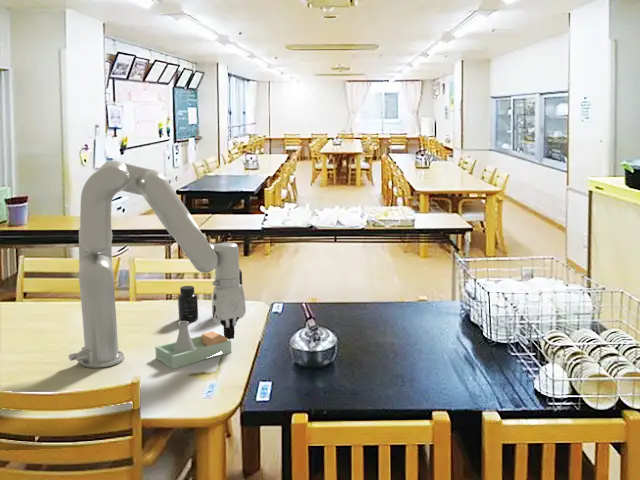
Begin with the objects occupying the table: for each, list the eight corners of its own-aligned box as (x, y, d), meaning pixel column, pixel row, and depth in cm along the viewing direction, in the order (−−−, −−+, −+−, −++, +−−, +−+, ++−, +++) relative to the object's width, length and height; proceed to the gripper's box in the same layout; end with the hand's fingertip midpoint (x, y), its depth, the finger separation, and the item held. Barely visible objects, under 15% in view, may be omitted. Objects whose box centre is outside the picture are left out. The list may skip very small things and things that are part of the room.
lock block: (216, 350, 210) (216, 340, 210) (202, 343, 216) (201, 334, 216) (227, 347, 213) (227, 337, 212) (213, 340, 219) (212, 331, 218)
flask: (199, 350, 211) (198, 319, 209) (193, 358, 204) (191, 326, 202) (176, 349, 212) (175, 318, 210) (169, 357, 205) (167, 326, 203)
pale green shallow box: (173, 368, 200) (173, 356, 199) (155, 358, 208) (155, 346, 207) (231, 352, 212) (231, 341, 212) (212, 343, 221) (211, 332, 220)
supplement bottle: (176, 318, 247) (175, 286, 244) (195, 315, 250) (194, 283, 247) (181, 323, 241) (180, 290, 238) (200, 321, 243) (199, 288, 241)
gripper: (213, 288, 207) (215, 346, 210) (254, 280, 216) (255, 335, 220) (200, 284, 212) (202, 340, 216) (240, 276, 222) (241, 330, 225)
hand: (229, 337), depth 218 cm, fingers closed
